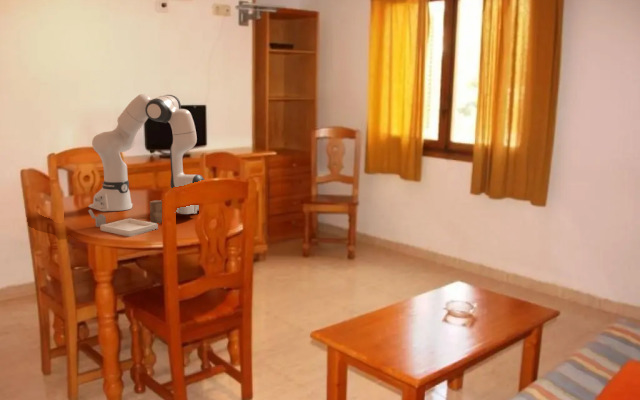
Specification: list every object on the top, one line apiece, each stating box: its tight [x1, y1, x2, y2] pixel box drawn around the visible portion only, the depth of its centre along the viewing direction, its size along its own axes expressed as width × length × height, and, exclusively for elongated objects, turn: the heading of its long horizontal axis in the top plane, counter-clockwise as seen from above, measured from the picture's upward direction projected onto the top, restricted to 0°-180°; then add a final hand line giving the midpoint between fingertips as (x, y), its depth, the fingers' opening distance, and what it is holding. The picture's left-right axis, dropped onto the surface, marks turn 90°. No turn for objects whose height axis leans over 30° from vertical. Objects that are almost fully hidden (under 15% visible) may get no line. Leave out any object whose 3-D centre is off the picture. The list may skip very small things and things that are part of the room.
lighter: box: [87, 208, 107, 228], centre depth 265 cm, size 7×2×8 cm, turn 122°
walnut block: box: [149, 199, 162, 224], centre depth 273 cm, size 4×4×10 cm
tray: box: [99, 217, 159, 238], centre depth 261 cm, size 18×16×2 cm
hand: (162, 209), depth 276 cm, fingers open, 8 cm apart
